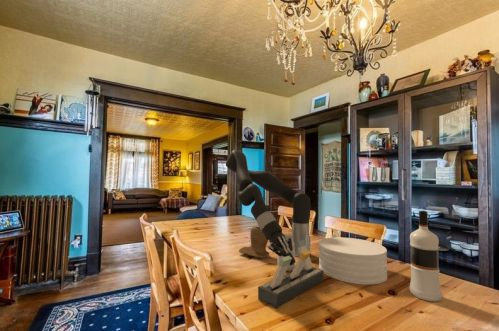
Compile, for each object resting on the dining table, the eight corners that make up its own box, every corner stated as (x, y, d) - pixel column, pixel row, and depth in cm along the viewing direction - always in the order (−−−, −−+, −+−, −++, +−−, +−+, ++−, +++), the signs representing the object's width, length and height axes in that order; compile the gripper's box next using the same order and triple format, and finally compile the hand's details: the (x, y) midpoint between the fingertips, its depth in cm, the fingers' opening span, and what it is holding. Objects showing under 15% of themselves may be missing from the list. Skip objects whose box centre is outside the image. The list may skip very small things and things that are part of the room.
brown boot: (274, 255, 126) (274, 226, 127) (262, 261, 116) (262, 230, 117) (250, 249, 135) (251, 223, 136) (238, 255, 125) (238, 226, 126)
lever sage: (268, 287, 79) (280, 258, 76) (277, 283, 82) (289, 255, 79) (271, 290, 78) (284, 261, 75) (280, 286, 81) (292, 258, 78)
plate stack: (394, 271, 107) (393, 245, 107) (376, 292, 86) (376, 260, 87) (334, 256, 126) (334, 234, 127) (307, 270, 105) (307, 244, 106)
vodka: (424, 303, 79) (421, 212, 80) (403, 290, 88) (401, 209, 89) (449, 302, 79) (446, 212, 81) (426, 289, 89) (424, 209, 90)
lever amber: (288, 277, 87) (301, 252, 83) (295, 274, 90) (308, 250, 86) (291, 280, 86) (304, 255, 82) (298, 277, 89) (311, 252, 85)
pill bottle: (296, 266, 110) (296, 233, 111) (292, 272, 103) (292, 237, 104) (280, 263, 113) (280, 232, 114) (274, 269, 106) (275, 235, 107)
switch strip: (258, 299, 80) (258, 286, 80) (306, 274, 101) (306, 264, 101) (276, 308, 74) (276, 294, 74) (323, 280, 95) (323, 270, 95)
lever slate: (305, 271, 94) (295, 242, 98) (311, 269, 97) (301, 240, 101) (308, 271, 93) (297, 241, 97) (314, 268, 96) (303, 239, 100)
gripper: (273, 228, 103) (297, 264, 94) (252, 233, 94) (276, 273, 85) (283, 217, 100) (309, 254, 91) (263, 221, 91) (288, 262, 81)
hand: (293, 263), depth 88 cm, fingers closed
